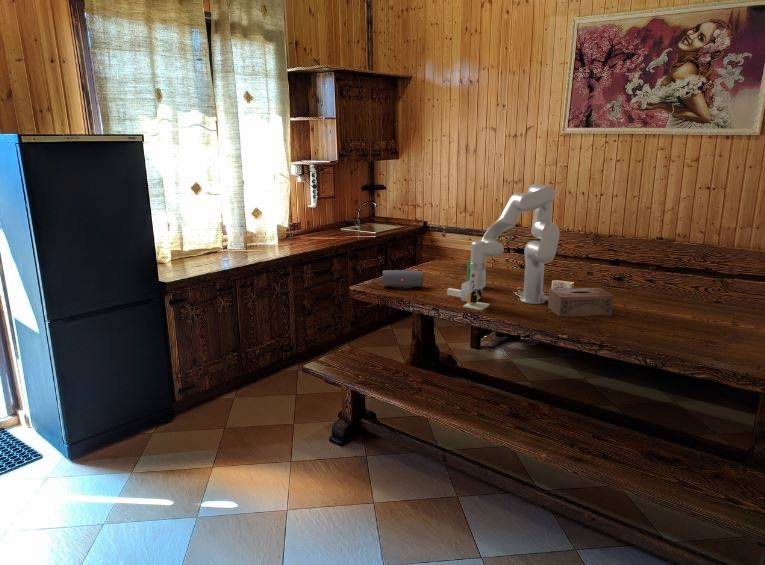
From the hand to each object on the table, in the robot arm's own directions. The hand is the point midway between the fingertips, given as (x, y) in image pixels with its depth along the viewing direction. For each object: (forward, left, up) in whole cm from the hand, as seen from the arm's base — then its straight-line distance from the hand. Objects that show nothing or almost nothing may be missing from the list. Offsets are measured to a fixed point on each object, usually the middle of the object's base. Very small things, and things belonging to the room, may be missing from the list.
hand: (476, 300), depth 275 cm
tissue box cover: (-45, -21, -3) cm, 50 cm away
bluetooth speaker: (+50, -9, -3) cm, 51 cm away
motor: (+16, -33, -3) cm, 37 cm away
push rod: (+14, -11, -3) cm, 18 cm away
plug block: (0, 0, 0) cm, 0 cm away
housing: (+8, -11, -3) cm, 14 cm away
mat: (0, 0, -3) cm, 3 cm away
